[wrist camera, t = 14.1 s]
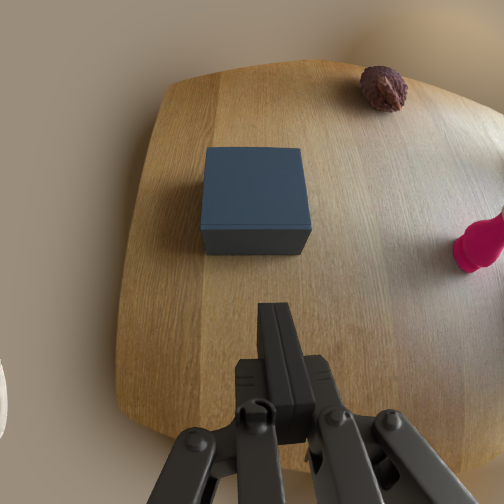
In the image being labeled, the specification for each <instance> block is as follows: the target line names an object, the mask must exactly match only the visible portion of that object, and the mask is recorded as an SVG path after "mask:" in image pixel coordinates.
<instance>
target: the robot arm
mask: <svg viewBox="0 0 504 504" xmlns="http://www.w3.org/2000/svg"><path fill="white" fill-rule="evenodd" d="M257 352H258V359H240V360H239V362H238V363H237V365H236V367H235V397H236V411H235V418H234V420H233V421H232V422H231V423H230V424H229V425H228V426H226V427H224V428H221V429H218V430H214V431H209V430H206V429H204V428H199V427H193V428H188V429H186V430H184V431H182V432H181V433H180V434H179V436H178V437H177V439H176V441H175V443H174V445H173V447H172V450H171V452H170V454H169V456H168V458H167V461H166V463H165V465H164V467H163V469H162V471H161V474H160V476H159V478H158V480H157V482H156V484H155V487H154V489H153V491H152V493H151V495H150V497H149V499H148V502H147V504H212V502H213V499H214V496H215V493H216V490H217V487H218V484H219V481H220V478H222V477H225V476H229V475H232V474H236V473H237V481H238V482H237V483H238V504H286V501H285V495H284V487H283V480H282V473H281V466H280V458H279V451H278V445H285V444H296V443H305V441H306V438H307V439H308V443H309V447H308V450H307V453H306V456H305V462H307V461H308V459H309V464H310V469H311V474H312V479H313V484H314V489H315V494H316V499H317V504H384V503H385V504H479V503H478V502H477V501H476V500H475V498H474V497H473V496H472V495H471V494H470V492H469V491H468V490H467V489H466V488H465V486H464V485H463V484H462V483H461V482H460V480H459V479H458V478H457V477H456V476H455V474H454V473H453V472H452V471H451V470H450V468H449V467H448V466H447V465H446V464H445V463H444V461H443V460H442V459H441V458H440V457H439V455H438V454H437V453H436V452H435V451H434V450H433V448H432V447H431V446H430V445H429V444H428V442H427V441H426V440H425V439H424V438H423V437H422V435H421V434H420V433H419V432H418V431H417V429H416V428H415V427H414V426H413V425H412V424H411V422H410V421H409V420H408V419H407V418H406V417H405V415H403V414H402V413H401V412H399V411H397V410H392V409H387V410H383V411H381V412H380V413H379V414H377V416H376V417H370V416H360V415H356V414H354V413H352V412H351V410H349V409H348V408H346V407H345V406H344V404H343V402H342V399H341V397H340V394H339V391H338V388H337V386H336V383H335V380H334V379H333V375H332V372H331V369H330V367H329V364H328V362H327V361H326V360H325V359H324V358H323V357H322V356H321V355H309V356H303V353H302V350H301V346H300V343H299V340H298V336H297V333H296V329H295V326H294V323H293V319H292V316H291V312H290V309H289V306H288V302H286V303H258V319H257Z"/></svg>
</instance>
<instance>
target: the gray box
mask: <svg viewBox="0 0 504 504" xmlns="http://www.w3.org/2000/svg"><path fill="white" fill-rule="evenodd" d="M200 231H201V235H202V239H203V243H204V247H205V251H206V254H207V255H300V254H301V252H302V250H303V248H304V246H305V243H306V241H307V239H308V237H309V235H310V233H311V231H312V226H311V218H310V211H309V203H308V196H307V190H306V183H305V176H304V170H303V164H302V158H301V152H300V149H298V148H273V147H209V148H207V151H206V162H205V172H204V184H203V196H202V209H201V224H200Z"/></svg>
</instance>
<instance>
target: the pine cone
mask: <svg viewBox="0 0 504 504" xmlns="http://www.w3.org/2000/svg"><path fill="white" fill-rule="evenodd" d="M360 82H361V85H360V88H361V90H362V94H363V95H364V97H366V98H367V100H368V102H370V103H371V104H372V106H373V107H374V108H377V109H378V110H382V111H385V110H386V111H389V112H393V111H395V112H396V111H398V110H400V109H401V108H402V106H404V101H405V100H406V95H407V89H408V86H407V85H406V84H405V81H404V79H402V77H401V75H400V74H399V73H397V72H396V71H395V70H392V69H391V68H388V67H384V66H374V67H368V68H365V70H364V72H363V73H362V76H361V79H360Z"/></svg>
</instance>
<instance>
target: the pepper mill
mask: <svg viewBox="0 0 504 504" xmlns="http://www.w3.org/2000/svg"><path fill="white" fill-rule="evenodd" d="M503 248H504V206H503V207H502V212H501V213H500V214H499V215H498V216H496V217H495V218H493V219H490V220H481V221H477V222H474V223H473V224H471V225H470V226H468V227H467V229H466V230H465V233H464V235H462V236H461V237H459V238H458V239H457V240H456V241H455V243H454V246H453V252H454V257H455V260H456V262H457V264H458V265H459V267H460V268H461V269H463V270H464V271H466V272H468V273H472V272H474V271H476V270H478V269H479V268H480V267H488V266H490V265H491V264H492V263H494V262H495V261H496V259H497V258H498V257H499V255H500V253H501V252H502V250H503Z"/></svg>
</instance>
